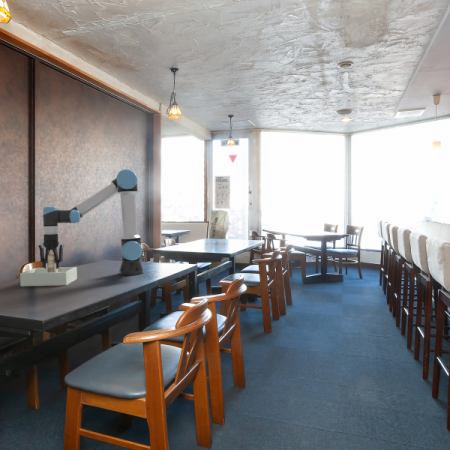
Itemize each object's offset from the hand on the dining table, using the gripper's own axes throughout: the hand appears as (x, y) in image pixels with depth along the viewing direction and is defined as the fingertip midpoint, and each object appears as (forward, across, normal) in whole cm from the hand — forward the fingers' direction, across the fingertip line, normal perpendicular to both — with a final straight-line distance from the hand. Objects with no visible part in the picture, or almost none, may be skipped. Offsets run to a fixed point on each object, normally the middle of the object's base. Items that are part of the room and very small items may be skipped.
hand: (52, 274), depth 212 cm
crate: (+4, 0, +3) cm, 5 cm away
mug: (+4, +5, -14) cm, 15 cm away
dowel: (+3, 0, 0) cm, 3 cm away
